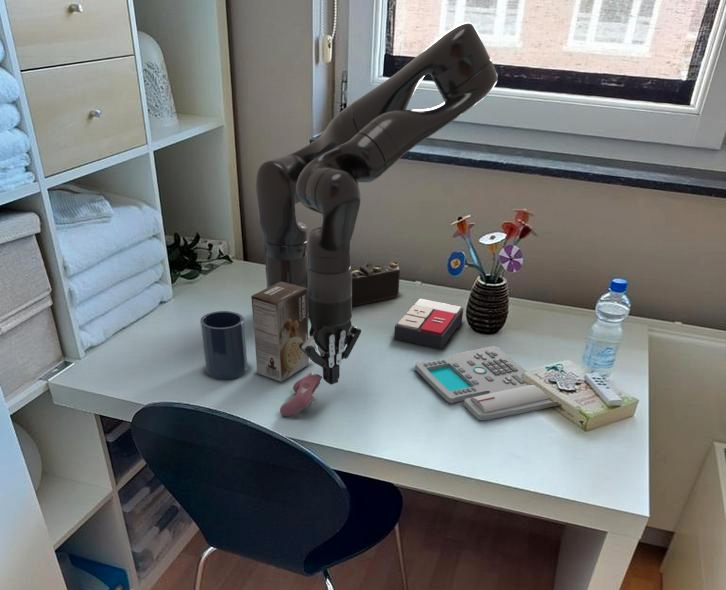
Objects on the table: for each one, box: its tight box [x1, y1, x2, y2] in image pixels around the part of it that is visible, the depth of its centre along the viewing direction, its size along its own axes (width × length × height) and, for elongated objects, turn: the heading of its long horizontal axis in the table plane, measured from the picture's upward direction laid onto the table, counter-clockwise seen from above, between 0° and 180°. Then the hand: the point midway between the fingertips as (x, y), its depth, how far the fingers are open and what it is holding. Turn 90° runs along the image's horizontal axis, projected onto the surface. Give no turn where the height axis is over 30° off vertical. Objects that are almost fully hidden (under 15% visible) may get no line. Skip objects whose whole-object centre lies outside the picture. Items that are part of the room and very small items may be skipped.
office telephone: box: [414, 345, 562, 421], centre depth 131 cm, size 23×3×20 cm
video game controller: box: [279, 371, 323, 417], centre depth 122 cm, size 10×5×7 cm, turn 168°
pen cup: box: [199, 310, 248, 381], centre depth 130 cm, size 8×8×10 cm
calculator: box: [393, 298, 464, 350], centre depth 150 cm, size 11×4×15 cm
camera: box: [351, 261, 401, 307], centre depth 162 cm, size 16×7×8 cm, turn 120°
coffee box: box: [250, 282, 310, 383], centre depth 129 cm, size 9×6×16 cm
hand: (331, 381), depth 126 cm, fingers closed
